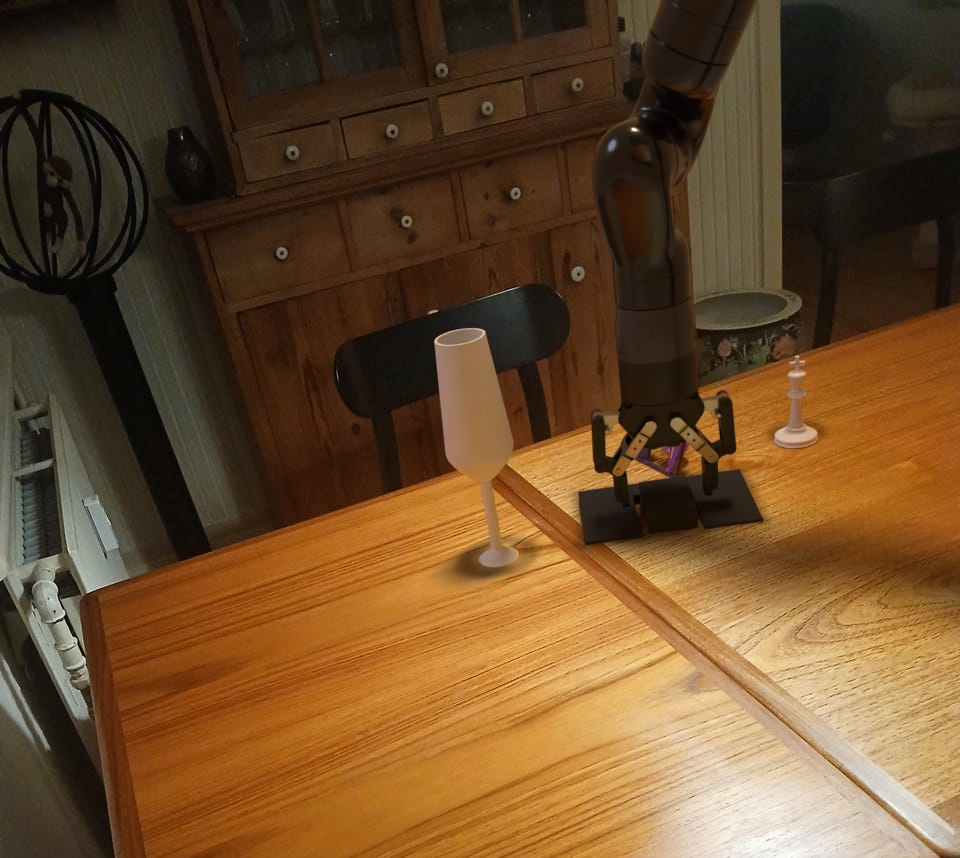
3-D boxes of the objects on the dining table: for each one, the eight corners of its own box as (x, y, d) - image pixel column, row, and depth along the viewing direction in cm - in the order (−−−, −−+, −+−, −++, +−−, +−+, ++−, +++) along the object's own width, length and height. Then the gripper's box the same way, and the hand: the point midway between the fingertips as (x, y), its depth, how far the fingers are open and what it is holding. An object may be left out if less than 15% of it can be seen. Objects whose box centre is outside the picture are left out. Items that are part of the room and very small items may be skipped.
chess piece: (820, 446, 113) (822, 361, 107) (775, 450, 114) (775, 366, 108) (815, 429, 117) (818, 346, 111) (772, 432, 118) (772, 351, 112)
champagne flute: (472, 550, 106) (429, 330, 93) (534, 545, 105) (499, 320, 92) (464, 583, 101) (418, 353, 87) (529, 577, 99) (492, 344, 86)
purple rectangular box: (636, 400, 116) (683, 420, 109) (671, 401, 118) (719, 421, 111) (624, 455, 118) (669, 478, 112) (659, 456, 121) (705, 478, 114)
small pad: (686, 500, 107) (685, 475, 106) (698, 535, 101) (697, 509, 99) (640, 506, 108) (638, 481, 106) (649, 541, 101) (647, 515, 100)
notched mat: (740, 478, 110) (739, 468, 109) (763, 529, 100) (763, 518, 99) (579, 500, 112) (577, 491, 111) (586, 552, 102) (584, 542, 101)
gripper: (724, 323, 96) (728, 473, 105) (579, 345, 98) (595, 492, 107) (739, 347, 90) (742, 505, 99) (584, 371, 92) (601, 524, 101)
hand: (666, 498), depth 103 cm, fingers open, 8 cm apart
